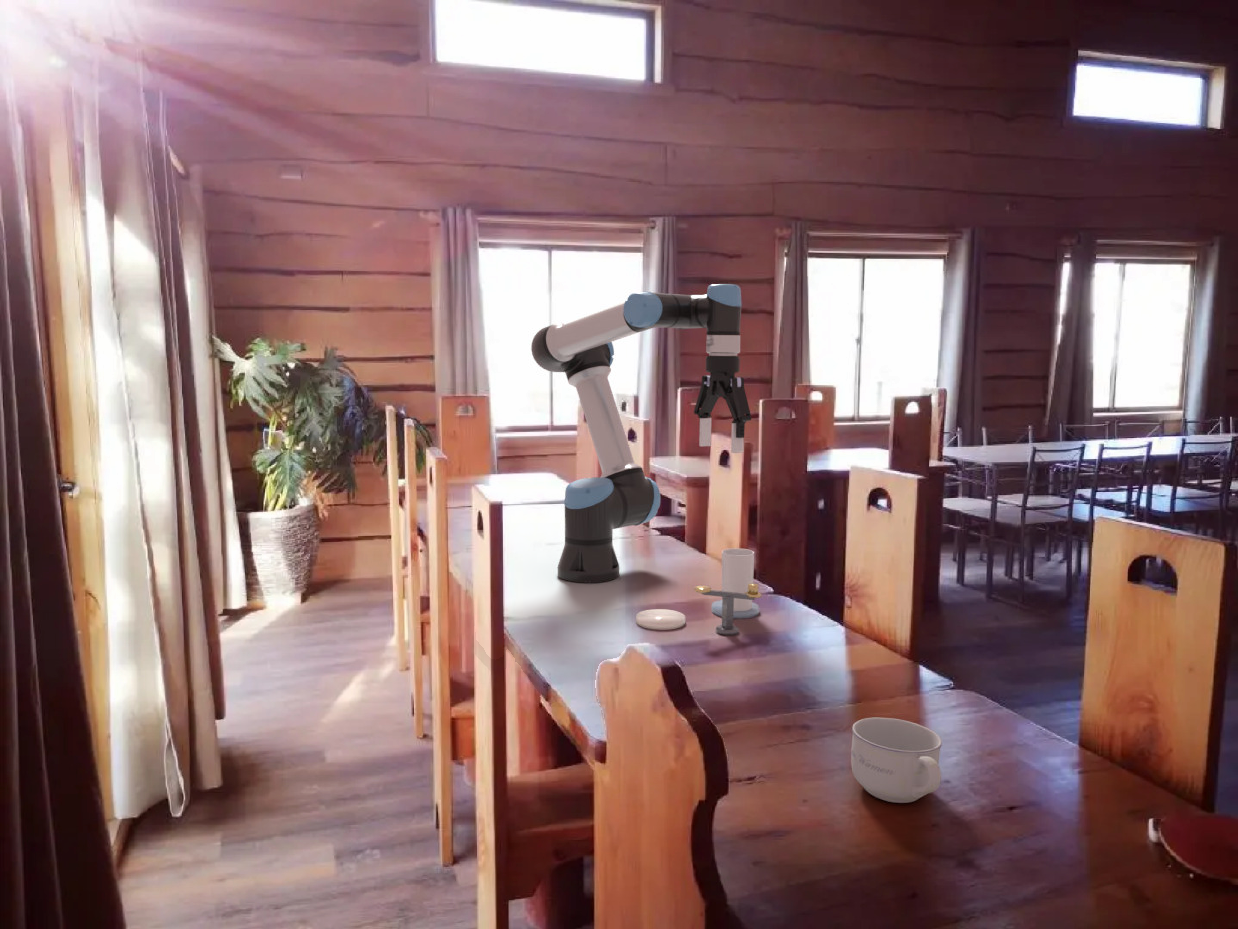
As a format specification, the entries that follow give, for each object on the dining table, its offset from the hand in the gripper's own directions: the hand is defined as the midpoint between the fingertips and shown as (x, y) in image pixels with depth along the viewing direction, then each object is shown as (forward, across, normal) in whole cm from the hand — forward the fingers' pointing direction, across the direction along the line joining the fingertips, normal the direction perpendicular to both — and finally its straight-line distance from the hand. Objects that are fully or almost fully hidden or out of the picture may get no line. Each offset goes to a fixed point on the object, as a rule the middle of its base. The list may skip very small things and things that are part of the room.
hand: (720, 449), depth 201 cm
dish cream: (+33, +16, -24) cm, 43 cm away
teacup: (+33, +91, -30) cm, 101 cm away
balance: (+33, +27, -14) cm, 45 cm away
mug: (+32, +16, -6) cm, 36 cm away
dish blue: (+33, +16, -6) cm, 37 cm away
